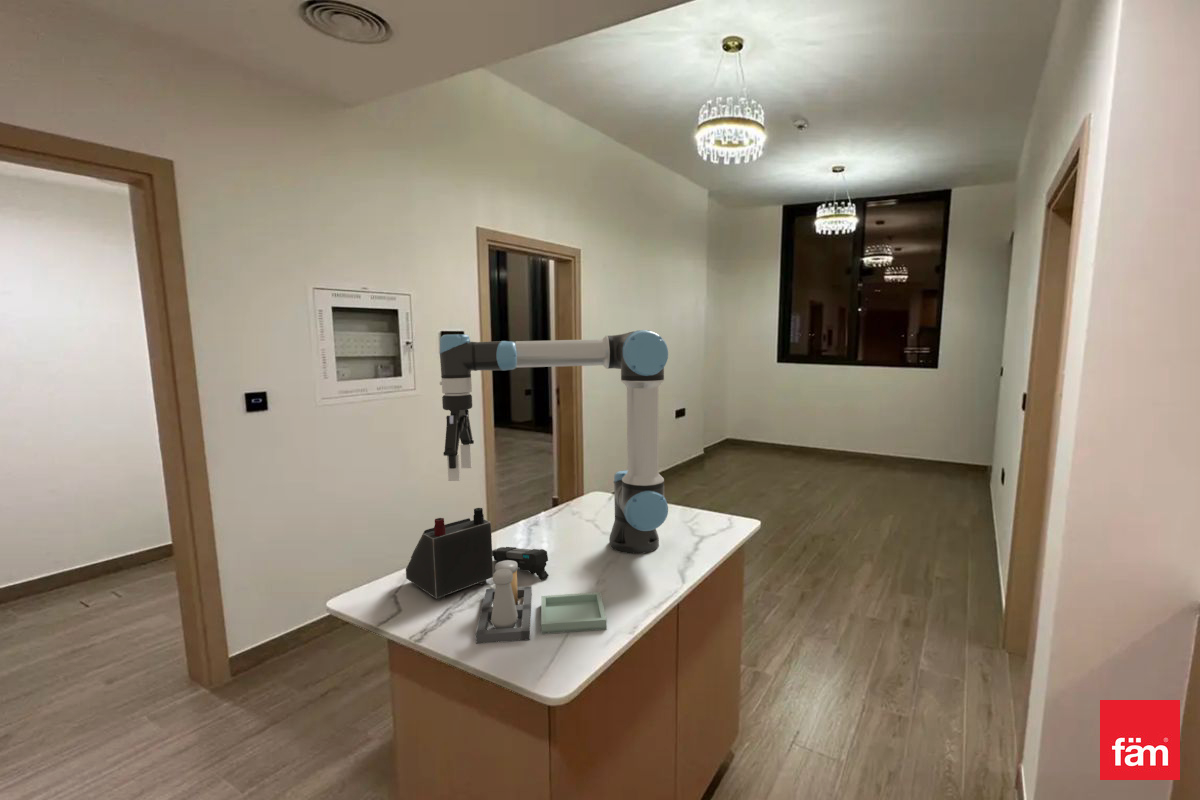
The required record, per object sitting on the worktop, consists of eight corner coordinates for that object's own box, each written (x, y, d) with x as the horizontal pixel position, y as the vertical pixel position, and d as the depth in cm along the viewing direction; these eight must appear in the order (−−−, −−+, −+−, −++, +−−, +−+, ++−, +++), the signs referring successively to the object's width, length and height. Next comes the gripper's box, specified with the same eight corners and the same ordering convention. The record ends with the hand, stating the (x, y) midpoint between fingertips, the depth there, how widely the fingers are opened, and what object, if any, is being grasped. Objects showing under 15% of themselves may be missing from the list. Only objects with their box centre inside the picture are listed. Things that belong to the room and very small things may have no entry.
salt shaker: (493, 622, 120) (490, 566, 119) (518, 620, 121) (516, 564, 120) (489, 636, 115) (487, 577, 113) (517, 634, 115) (515, 576, 114)
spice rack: (531, 593, 134) (530, 554, 133) (529, 639, 113) (527, 593, 112) (486, 596, 133) (485, 556, 132) (476, 643, 112) (473, 596, 111)
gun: (541, 582, 140) (531, 544, 141) (497, 586, 153) (489, 551, 154) (554, 576, 143) (544, 539, 144) (510, 580, 156) (501, 546, 157)
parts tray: (600, 600, 129) (600, 592, 129) (606, 629, 117) (606, 619, 116) (541, 604, 128) (541, 595, 128) (541, 634, 115) (541, 624, 115)
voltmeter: (461, 564, 152) (457, 495, 150) (493, 582, 141) (490, 507, 139) (406, 583, 141) (401, 509, 139) (436, 604, 130) (432, 523, 127)
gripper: (454, 390, 153) (458, 463, 155) (428, 399, 128) (432, 486, 130) (481, 389, 153) (484, 463, 155) (459, 398, 128) (463, 486, 130)
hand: (460, 474), depth 143 cm, fingers open, 13 cm apart
